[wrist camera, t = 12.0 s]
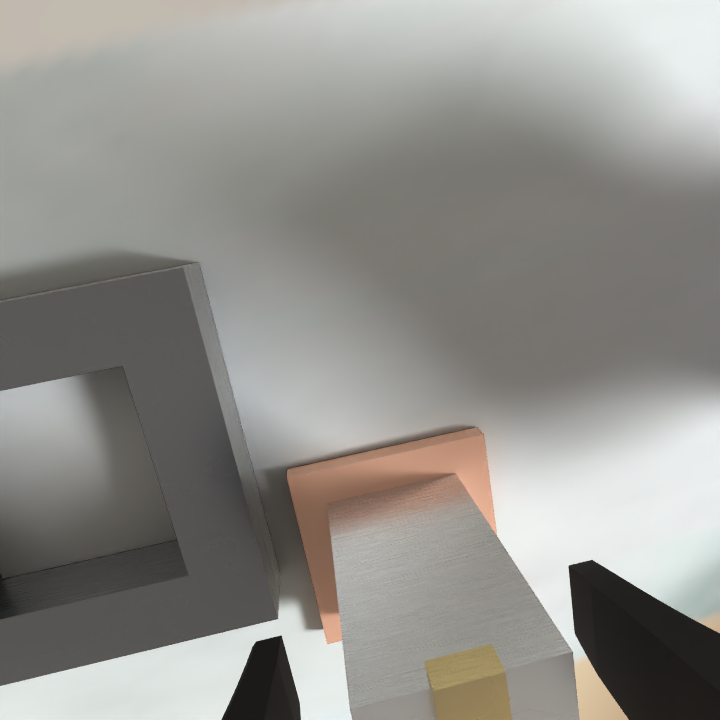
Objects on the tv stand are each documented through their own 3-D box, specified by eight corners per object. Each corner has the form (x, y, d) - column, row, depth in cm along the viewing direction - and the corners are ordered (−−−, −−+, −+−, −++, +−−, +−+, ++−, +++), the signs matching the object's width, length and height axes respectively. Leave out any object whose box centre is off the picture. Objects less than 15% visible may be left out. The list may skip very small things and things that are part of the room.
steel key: (475, 598, 17) (608, 873, 10) (355, 628, 17) (401, 934, 10) (452, 455, 16) (588, 650, 8) (322, 485, 16) (345, 713, 8)
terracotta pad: (477, 427, 16) (483, 434, 16) (498, 588, 18) (505, 600, 17) (287, 469, 16) (286, 478, 15) (326, 630, 17) (327, 643, 17)
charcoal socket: (198, 261, 14) (183, 267, 12) (280, 574, 17) (277, 618, 15) (-190, 336, 13) (-270, 354, 12) (-42, 649, 16) (-88, 706, 14)
